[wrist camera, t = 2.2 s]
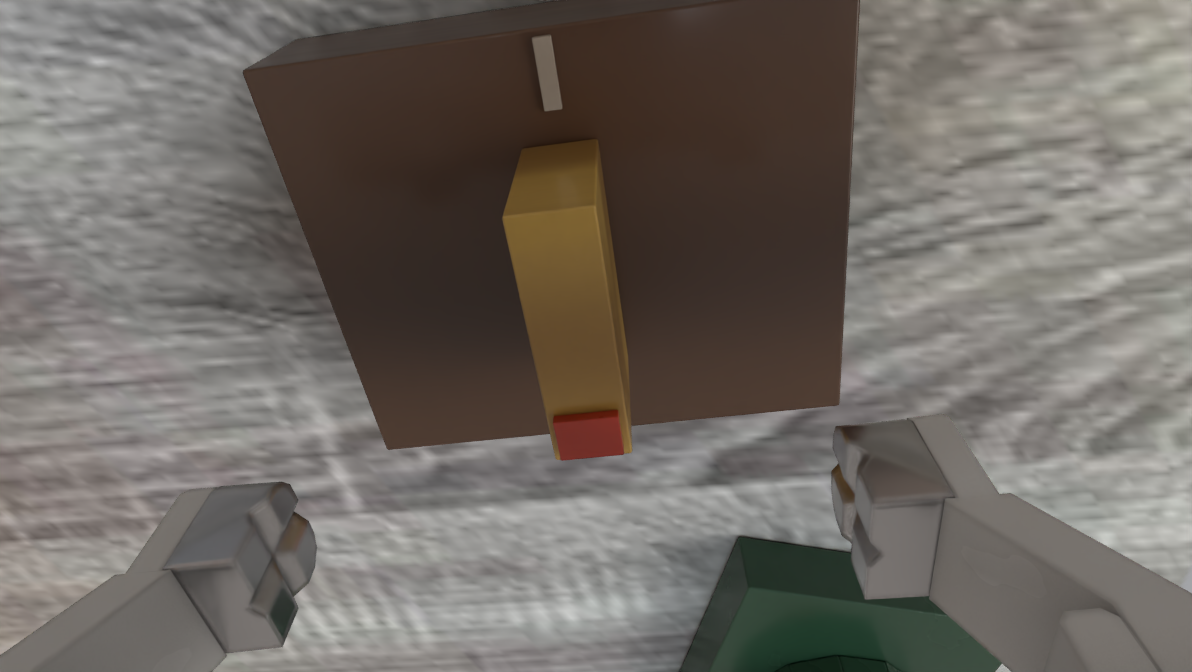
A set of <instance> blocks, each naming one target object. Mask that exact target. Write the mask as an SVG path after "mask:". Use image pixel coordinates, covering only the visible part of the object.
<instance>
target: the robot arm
mask: <svg viewBox="0 0 1192 672" xmlns="http://www.w3.org/2000/svg"><path fill="white" fill-rule="evenodd" d="M833 451H834V453H835V456H836V458H837V461H838V465H837V466H836V467H835V468H834V469H833V470H832V471H831V491H832V499H833V508H834V512H835V516H836V520H837V523H838V526H839V529H840V532H841V535H842V536H843V537H844V538H846V539H847V540H848V541H850V542H851V543H852V548H851V563H852V565H853V568H854V571H855V573H856V576H857V579H858V582H859V584H860V587H861V590H862V592H863V595H864V598H865V600H868V599H886V598H904V597H922V596H929V599H930V600H931V601H932V602H933V603H934V604H935V605H936V606H937V607H939V608H940V609H941V610H942V611H943V612H944V613H945V614H947V615H948V616H949V617H950V618H951V619H952V620H953V621H955V622H956V623H957V624H958V625H959V626H960V627H961V628H962V629H964V630H965V631H966V632H967V633H968V634H969V635H970V636H972V637H973V638H974V639H975V640H976V641H977V642H978V643H980V644H981V645H982V646H983V647H984V648H985V649H986V650H987V651H989V652H990V653H991V654H992V655H993V656H994V657H995V658H997V659H998V660H999V661H1000V662H1001V663H1002V664H1003V665H1005V666H1006V667H1007V668H1008V669H1009V670H1010V671H1011V672H1192V593H1190V592H1188V591H1187V590H1185V589H1183V588H1181V587H1179V586H1178V585H1176V584H1174V583H1172V582H1170V581H1168V580H1167V579H1165V578H1163V577H1161V576H1159V575H1158V574H1156V573H1154V572H1152V571H1150V570H1149V569H1147V568H1145V567H1143V566H1141V565H1140V564H1138V563H1136V562H1134V561H1132V560H1131V559H1129V558H1127V557H1125V556H1123V555H1121V554H1120V553H1118V552H1116V551H1114V550H1112V549H1111V548H1109V547H1107V546H1105V545H1103V544H1102V543H1100V542H1098V541H1096V540H1094V539H1093V538H1091V537H1089V536H1087V535H1085V534H1084V533H1082V532H1080V531H1078V530H1076V529H1075V528H1073V527H1071V526H1069V525H1067V524H1065V523H1064V522H1062V521H1060V520H1058V519H1056V518H1055V517H1053V516H1051V515H1049V514H1047V513H1046V512H1044V511H1042V510H1040V509H1038V508H1037V507H1035V506H1033V505H1031V504H1029V503H1028V502H1026V501H1024V500H1022V499H1020V498H1018V497H1017V496H1015V495H1013V494H1011V493H1007V494H999V493H998V491H997V489H996V488H995V486H994V485H993V483H992V482H991V480H990V479H989V477H988V476H987V474H986V473H985V471H984V469H983V468H982V466H981V465H980V463H979V462H978V460H977V459H976V457H975V456H974V454H973V452H972V451H971V449H970V448H969V446H968V445H967V443H966V442H965V440H964V439H963V437H962V435H961V434H960V432H959V431H958V429H957V428H956V426H955V425H954V423H953V422H952V420H951V418H950V417H948V416H946V415H945V414H937V415H929V416H921V417H912V418H907V419H901V420H891V421H882V422H872V423H863V424H854V425H844V426H836V427H835V430H834V434H833ZM297 502H298V498H297V496H296V495H295V493H294V491H293V489H292V487H291V485H290V484H287V483H284V482H271V483H258V484H244V485H231V486H220V487H213V488H200V489H189V490H187V491H185V492H184V493H182V494H180V495H179V496H178V498H177V499H176V500H175V502H174V503H173V505H172V506H171V508H170V509H169V511H168V512H167V514H166V515H165V517H164V518H163V519H162V521H161V522H160V524H159V525H158V527H157V528H156V530H155V531H154V533H153V534H152V536H151V537H150V538H149V540H148V541H147V543H146V544H145V546H144V547H143V549H142V550H141V552H140V553H139V555H138V556H137V557H136V559H135V560H134V562H133V563H132V565H131V566H130V568H129V569H128V571H127V572H126V574H119V575H114V576H113V577H111V578H110V579H109V580H107V581H106V582H104V583H103V584H101V585H100V586H99V587H97V588H96V589H94V590H93V591H91V592H90V593H89V594H87V595H86V596H84V597H83V598H81V599H80V600H79V601H77V602H76V603H74V604H73V605H71V606H70V607H69V608H67V609H66V610H64V611H63V612H61V613H60V614H59V615H57V616H56V617H54V618H53V619H51V620H50V621H49V622H47V623H46V624H44V625H43V626H41V627H40V628H39V629H37V630H36V631H34V632H33V633H31V634H30V635H29V636H27V637H26V638H24V639H23V640H21V641H20V642H19V643H17V644H16V645H14V646H13V647H11V648H10V649H9V650H7V651H6V652H4V653H3V654H1V655H0V672H212V671H213V670H214V669H215V668H216V667H217V666H218V665H219V664H220V663H221V662H222V661H223V660H224V659H225V658H226V656H227V655H226V654H225V653H233V652H243V651H252V650H261V649H270V648H279V647H283V644H284V642H285V639H286V637H287V635H288V632H289V630H290V627H291V625H292V623H293V620H294V618H295V615H296V613H297V611H298V605H297V603H296V601H295V598H294V596H295V595H296V594H297V593H298V592H299V591H300V590H301V589H303V588H304V587H305V586H306V585H307V584H308V583H309V581H310V579H311V576H312V573H313V571H314V568H315V562H316V551H317V545H316V540H315V535H314V532H313V529H312V527H311V525H310V523H309V521H308V520H306V519H305V518H303V517H302V516H300V515H299V514H297V513H295V512H294V510H295V507H296V505H297Z"/></svg>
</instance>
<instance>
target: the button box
mask: <svg viewBox="0 0 1192 672" xmlns="http://www.w3.org/2000/svg"><path fill="white" fill-rule="evenodd" d="M1001 664H1002V663H1001V662H1000V661H999V660H998V659H997V658H995V657H994V656H993V655H992V654H991V653H990V652H989V651H987V650H986V649H985V648H984V647H983V646H982V645H981V644H980V643H978V642H977V641H976V640H975V639H974V638H973V637H972V636H970V635H969V634H968V633H967V632H966V631H965V630H964V629H962V628H961V627H960V626H959V625H958V624H957V623H956V622H955V621H953V620H952V619H951V618H950V617H949V616H948V615H947V614H945V613H944V612H943V611H942V610H941V609H940V608H939V607H937V606H936V605H935V604H934V603H933V602H932V601H931V600H930V599H929V596H922V597H904V598H886V599H868V600H865V598H864V595H863V592H862V590H861V587H860V584H859V582H858V579H857V576H856V573H855V571H854V568H853V565H852V563H851V553H846V552H840V551H833V550H826V549H819V548H812V547H806V546H799V545H792V544H785V543H779V542H772V541H765V540H758V539H752V538H745V537H739V538H738V540H737V542H736V545H735V547H734V549H733V551H732V554H731V556H730V558H729V561H728V563H727V565H726V567H725V570H724V572H723V574H722V577H721V579H720V581H719V583H718V586H717V588H716V590H715V593H714V595H713V597H712V599H711V602H710V604H709V606H708V609H707V611H706V613H705V615H704V618H703V620H702V622H701V624H700V627H699V629H698V631H697V634H696V636H695V638H694V640H693V643H692V645H691V647H690V650H689V652H688V654H687V656H686V659H685V661H684V663H683V666H682V668H681V670H680V672H995V671H996V670H997V669H998V668H999V666H1000V665H1001Z"/></svg>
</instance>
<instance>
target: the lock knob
mask: <svg viewBox="0 0 1192 672" xmlns="http://www.w3.org/2000/svg"><path fill="white" fill-rule="evenodd" d="M502 221H503V225H504V229H505V234H506V238H507V243H508V247H509V252H510V256H511V261H512V265H513V270H514V274H515V279H516V283H517V288H518V292H519V297H520V301H521V306H522V310H523V315H524V319H525V324H526V328H527V333H528V337H529V342H530V346H531V350H532V355H533V359H534V364H535V368H536V373H537V377H538V382H539V386H540V391H541V395H542V400H543V404H544V409H545V413H546V418H547V422H548V427H549V431H550V436H551V440H552V445H553V449H554V454H555V458H556V459H557V460H572V459H583V458H593V457H604V456H614V455H623V454H624V453H631V452H632V435H631V412H630V390H629V367H628V353H627V346H626V338H625V331H624V324H623V317H622V309H621V302H620V295H619V288H618V281H617V273H616V266H615V259H614V252H613V245H612V237H611V230H610V223H609V216H608V208H607V201H606V194H605V187H604V180H603V172H602V165H601V158H600V151H599V144H598V140H597V139H591V140H584V141H576V142H569V143H561V144H554V145H546V146H538V147H531V148H523V149H522V151H521V154H520V158H519V161H518V164H517V168H516V171H515V175H514V178H513V182H512V185H511V189H510V192H509V196H508V199H507V203H506V206H505V210H504V213H503V217H502Z"/></svg>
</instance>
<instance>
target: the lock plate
mask: <svg viewBox="0 0 1192 672" xmlns="http://www.w3.org/2000/svg"><path fill="white" fill-rule="evenodd" d="M859 12H860V0H558V1H552V2H545V3H538V4H531V5H525V6H518V7H511V8H505V9H498V10H491V11H484V12H478V13H471V14H464V15H457V16H451V17H444V18H437V19H431V20H424V21H417V22H410V23H404V24H397V25H390V26H383V27H377V28H370V29H363V30H357V31H350V32H343V33H336V34H330V35H323V36H316V37H309V38H303V39H296V40H294V41H293V42H291V43H289V44H287V45H286V46H284V47H282V48H281V49H279V50H277V51H276V52H274V53H272V54H270V55H269V56H267V57H265V58H264V59H262V60H260V61H259V62H257V63H255V64H253V65H252V66H250V67H248V68H247V69H245V70H244V71H243V75H244V78H245V80H246V83H247V85H248V88H249V91H250V93H251V96H252V98H253V101H254V104H255V106H256V109H257V111H258V114H259V117H260V119H261V122H262V124H263V127H264V130H265V132H266V135H267V137H268V140H269V143H270V145H271V148H272V151H273V153H274V156H275V158H276V161H277V164H278V166H279V169H280V171H281V174H282V177H283V179H284V182H285V184H286V187H287V190H288V192H289V195H290V197H291V200H292V203H293V205H294V208H295V210H296V213H297V216H298V218H299V221H300V223H301V226H302V229H303V231H304V234H305V236H306V239H307V242H308V244H309V247H310V249H311V252H312V255H313V257H314V260H315V262H316V265H317V268H318V270H319V273H320V275H321V278H322V281H323V283H324V286H325V289H326V291H327V294H328V296H329V299H330V302H331V304H332V307H333V309H334V312H335V315H336V317H337V320H338V322H339V325H340V328H341V330H342V333H343V335H344V338H345V341H346V343H347V346H348V348H349V351H350V354H351V356H352V359H353V361H354V364H355V367H356V369H357V372H358V374H359V377H360V380H361V382H362V385H363V387H364V390H365V393H366V395H367V398H368V400H369V403H370V406H371V408H372V411H373V413H374V416H375V419H376V421H377V424H378V426H379V429H380V432H381V434H382V437H383V440H384V442H385V445H386V447H387V449H388V450H392V449H402V448H412V447H422V446H432V445H442V444H452V443H462V442H472V441H483V440H493V439H503V438H513V437H523V436H533V435H543V434H550V431H549V427H548V422H547V418H546V413H545V409H544V404H543V400H542V395H541V391H540V386H539V382H538V377H537V373H536V368H535V364H534V359H533V355H532V350H531V346H530V342H529V337H528V333H527V328H526V324H525V319H524V315H523V310H522V306H521V301H520V297H519V292H518V288H517V283H516V279H515V274H514V270H513V265H512V261H511V256H510V252H509V247H508V243H507V238H506V234H505V229H504V225H503V221H502V217H503V213H504V210H505V206H506V203H507V199H508V196H509V192H510V189H511V185H512V182H513V178H514V175H515V171H516V168H517V164H518V161H519V158H520V154H521V151H522V149H523V148H531V147H538V146H546V145H554V144H561V143H569V142H576V141H584V140H591V139H597V140H598V144H599V151H600V158H601V165H602V172H603V180H604V187H605V194H606V201H607V208H608V216H609V223H610V230H611V237H612V245H613V252H614V259H615V266H616V273H617V281H618V288H619V295H620V302H621V309H622V317H623V324H624V331H625V338H626V346H627V353H628V367H629V390H630V412H631V426H634V425H644V424H654V423H664V422H674V421H685V420H695V419H705V418H715V417H725V416H735V415H745V414H755V413H765V412H775V411H786V410H796V409H806V408H816V407H826V406H836V405H839V402H840V382H841V363H842V343H843V324H844V304H845V285H846V265H847V246H848V226H849V207H850V187H851V168H852V148H853V129H854V109H855V90H856V70H857V51H858V31H859Z"/></svg>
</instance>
